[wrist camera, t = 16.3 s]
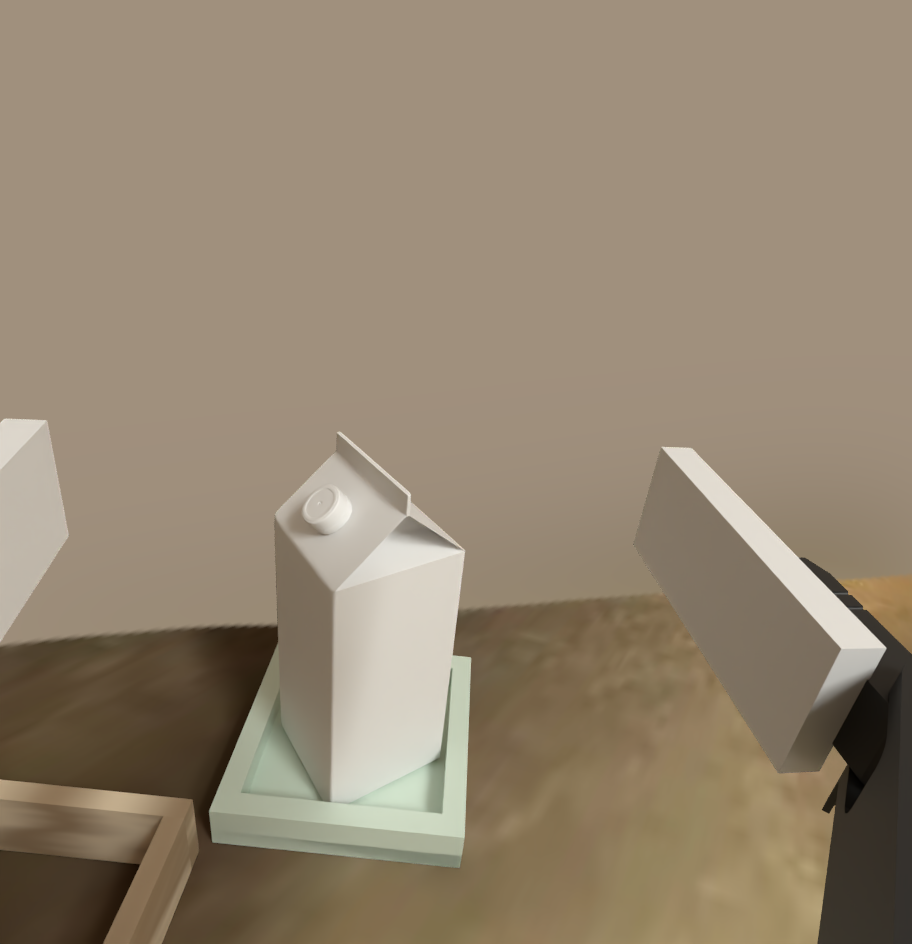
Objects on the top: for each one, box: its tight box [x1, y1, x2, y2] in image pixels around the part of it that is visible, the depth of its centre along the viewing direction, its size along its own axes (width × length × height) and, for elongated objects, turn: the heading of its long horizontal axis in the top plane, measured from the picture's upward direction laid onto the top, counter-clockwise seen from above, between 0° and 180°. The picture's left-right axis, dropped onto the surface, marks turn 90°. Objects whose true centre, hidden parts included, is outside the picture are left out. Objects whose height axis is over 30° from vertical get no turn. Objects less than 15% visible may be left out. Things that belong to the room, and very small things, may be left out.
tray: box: [209, 644, 471, 868], centre depth 40 cm, size 13×13×2 cm
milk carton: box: [274, 432, 465, 804], centre depth 36 cm, size 7×7×19 cm
